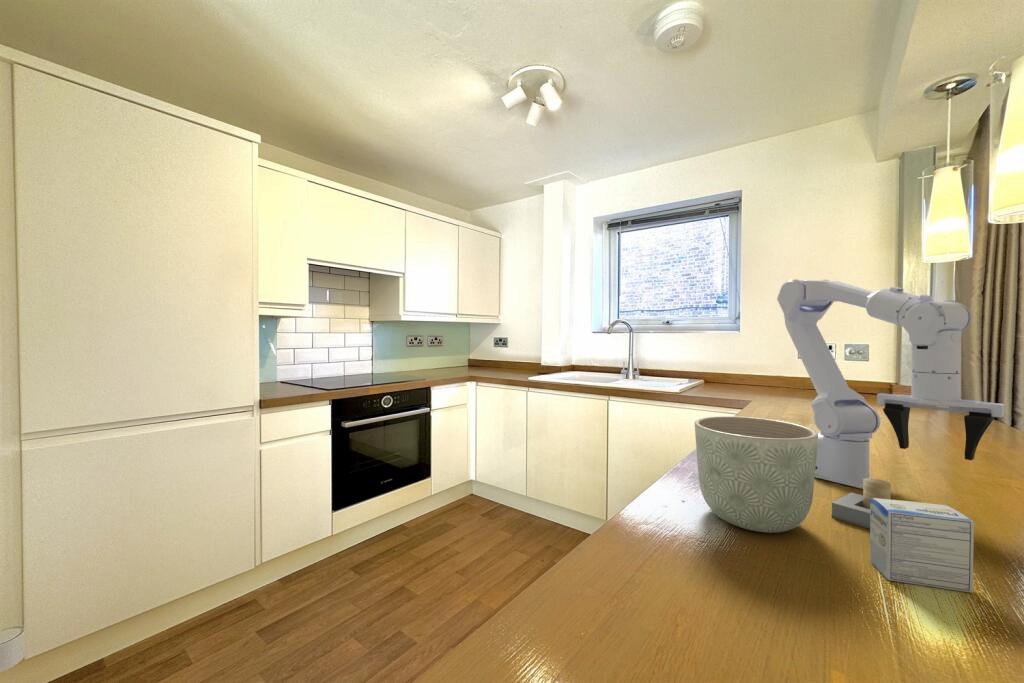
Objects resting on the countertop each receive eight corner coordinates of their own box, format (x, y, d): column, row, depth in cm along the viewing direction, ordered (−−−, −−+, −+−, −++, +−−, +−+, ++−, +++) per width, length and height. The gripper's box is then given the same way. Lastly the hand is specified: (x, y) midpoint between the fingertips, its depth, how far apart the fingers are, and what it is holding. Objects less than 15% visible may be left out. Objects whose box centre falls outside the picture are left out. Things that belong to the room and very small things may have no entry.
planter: (697, 492, 76) (697, 412, 76) (807, 510, 68) (807, 421, 68) (690, 530, 61) (690, 431, 61) (830, 559, 53) (830, 445, 53)
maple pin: (859, 517, 64) (860, 480, 64) (867, 513, 66) (867, 476, 66) (886, 525, 61) (886, 486, 61) (893, 520, 63) (893, 482, 63)
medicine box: (947, 573, 50) (947, 504, 50) (974, 595, 45) (975, 519, 45) (868, 562, 52) (869, 496, 52) (888, 582, 48) (888, 510, 48)
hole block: (831, 517, 65) (831, 502, 65) (850, 506, 69) (851, 492, 69) (907, 540, 58) (907, 524, 58) (923, 526, 62) (923, 511, 62)
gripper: (870, 370, 71) (870, 446, 71) (998, 377, 59) (998, 469, 59) (884, 369, 75) (884, 441, 75) (1007, 374, 62) (1006, 461, 63)
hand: (935, 453), depth 67 cm, fingers open, 7 cm apart
